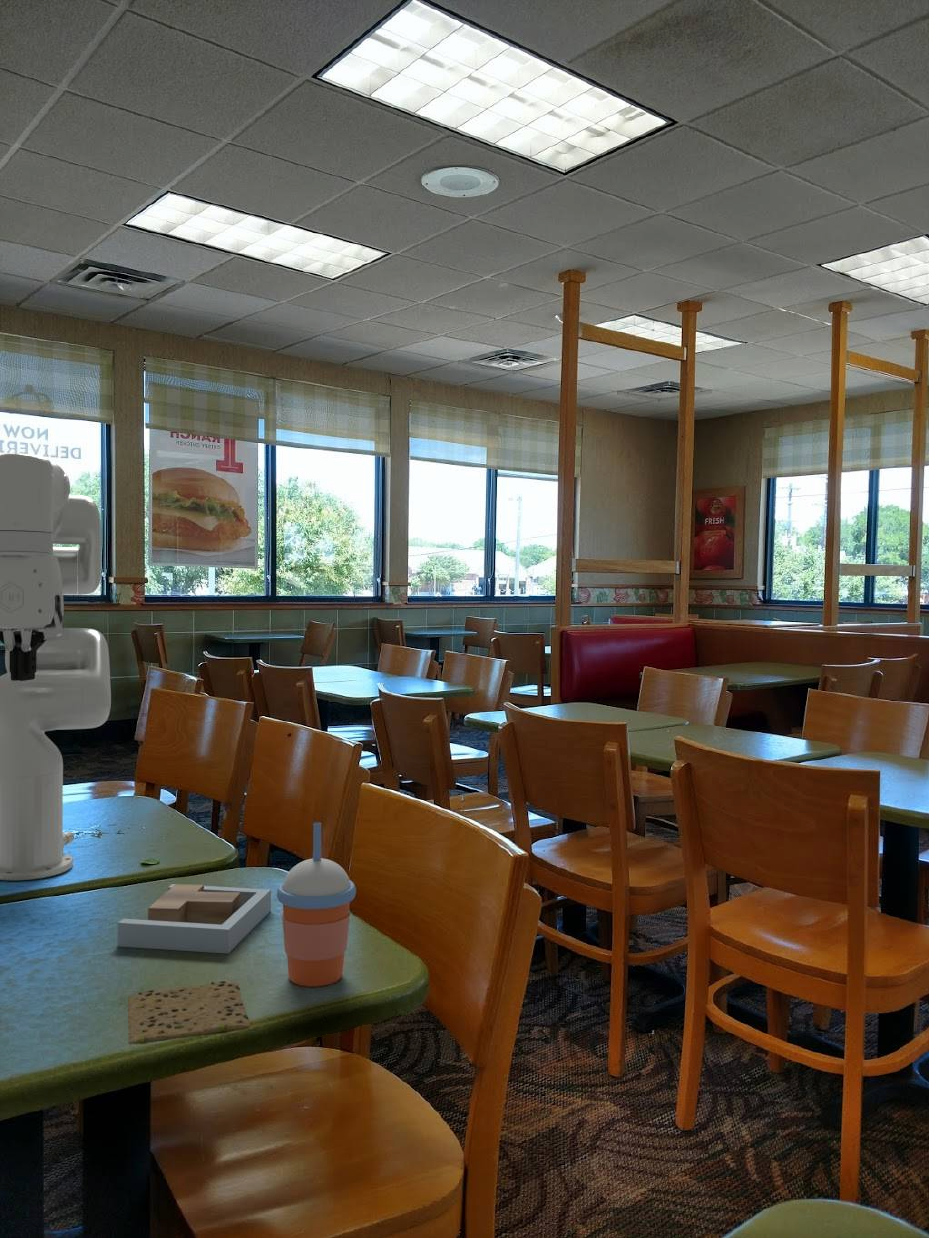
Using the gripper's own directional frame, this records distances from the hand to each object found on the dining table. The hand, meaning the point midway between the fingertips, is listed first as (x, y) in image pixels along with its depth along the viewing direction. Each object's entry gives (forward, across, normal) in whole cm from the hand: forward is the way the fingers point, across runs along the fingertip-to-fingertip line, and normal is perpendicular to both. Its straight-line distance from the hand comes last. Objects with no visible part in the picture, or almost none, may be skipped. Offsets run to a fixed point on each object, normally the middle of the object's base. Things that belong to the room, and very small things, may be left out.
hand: (23, 679), depth 131 cm
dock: (+32, +26, -2) cm, 41 cm away
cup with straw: (+32, +46, -15) cm, 58 cm away
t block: (+32, +26, -1) cm, 41 cm away
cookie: (+33, +35, -26) cm, 55 cm away
